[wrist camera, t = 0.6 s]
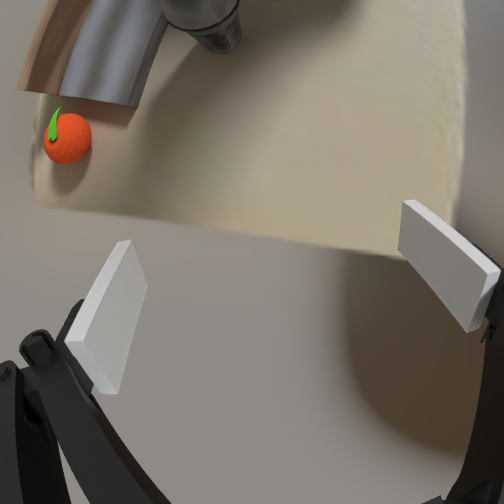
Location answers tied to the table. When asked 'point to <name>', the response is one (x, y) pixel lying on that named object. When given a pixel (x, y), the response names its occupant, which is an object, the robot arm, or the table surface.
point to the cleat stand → (94, 49)
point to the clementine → (67, 138)
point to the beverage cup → (206, 21)
